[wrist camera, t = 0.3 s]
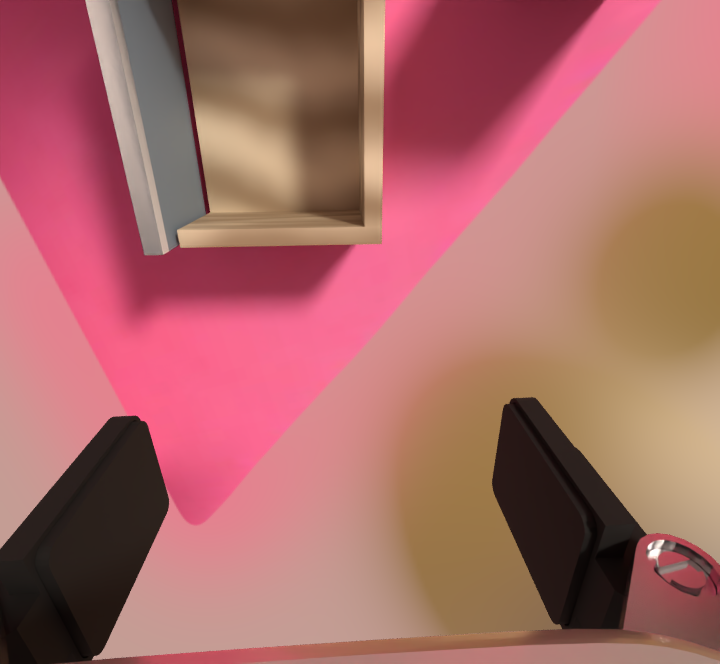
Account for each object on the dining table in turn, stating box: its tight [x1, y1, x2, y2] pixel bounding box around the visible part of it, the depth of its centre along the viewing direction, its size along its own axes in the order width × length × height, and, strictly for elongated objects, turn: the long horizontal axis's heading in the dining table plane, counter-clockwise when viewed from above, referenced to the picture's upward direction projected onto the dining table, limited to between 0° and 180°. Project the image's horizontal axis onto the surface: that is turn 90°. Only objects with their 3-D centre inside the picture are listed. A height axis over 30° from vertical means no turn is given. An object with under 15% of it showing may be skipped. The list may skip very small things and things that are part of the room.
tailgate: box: [85, 0, 206, 255], centre depth 27 cm, size 18×1×11 cm, turn 0°
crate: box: [177, 0, 385, 248], centre depth 29 cm, size 18×14×9 cm
